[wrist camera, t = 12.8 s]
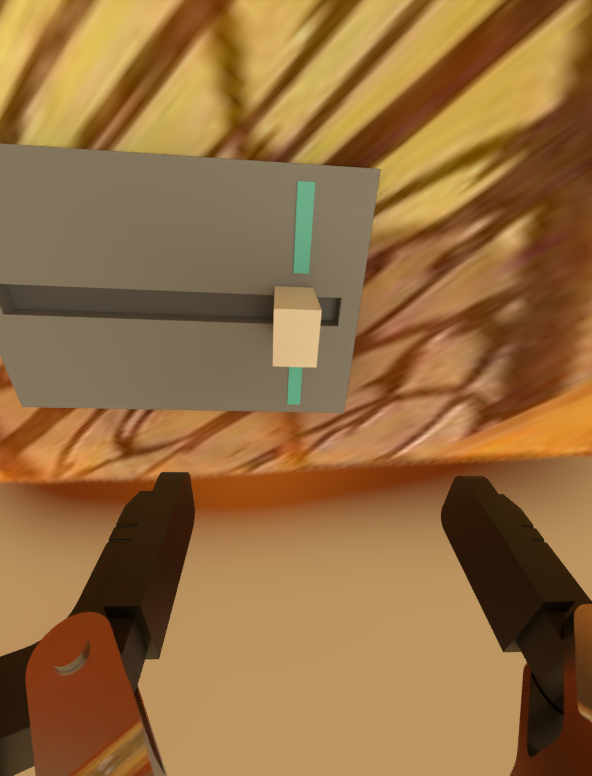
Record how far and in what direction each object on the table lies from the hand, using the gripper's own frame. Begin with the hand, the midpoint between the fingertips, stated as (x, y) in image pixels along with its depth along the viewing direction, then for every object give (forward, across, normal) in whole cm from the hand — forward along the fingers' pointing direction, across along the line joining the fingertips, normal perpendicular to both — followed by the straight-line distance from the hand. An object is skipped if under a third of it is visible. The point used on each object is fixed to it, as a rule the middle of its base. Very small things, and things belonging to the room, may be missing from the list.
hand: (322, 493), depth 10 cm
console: (+22, +10, 0) cm, 24 cm away
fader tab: (+21, 0, 0) cm, 21 cm away
